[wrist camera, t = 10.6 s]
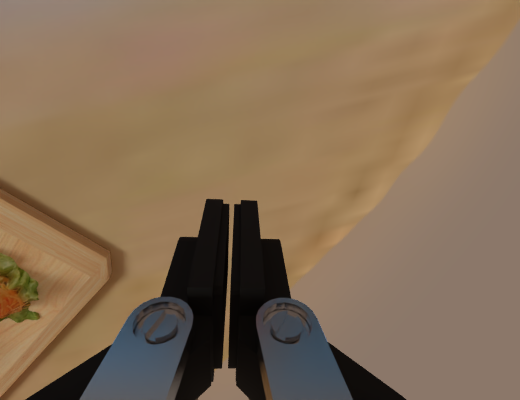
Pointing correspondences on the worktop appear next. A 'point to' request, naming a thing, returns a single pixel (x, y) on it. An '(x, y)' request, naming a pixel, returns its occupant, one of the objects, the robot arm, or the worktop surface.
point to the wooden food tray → (40, 282)
